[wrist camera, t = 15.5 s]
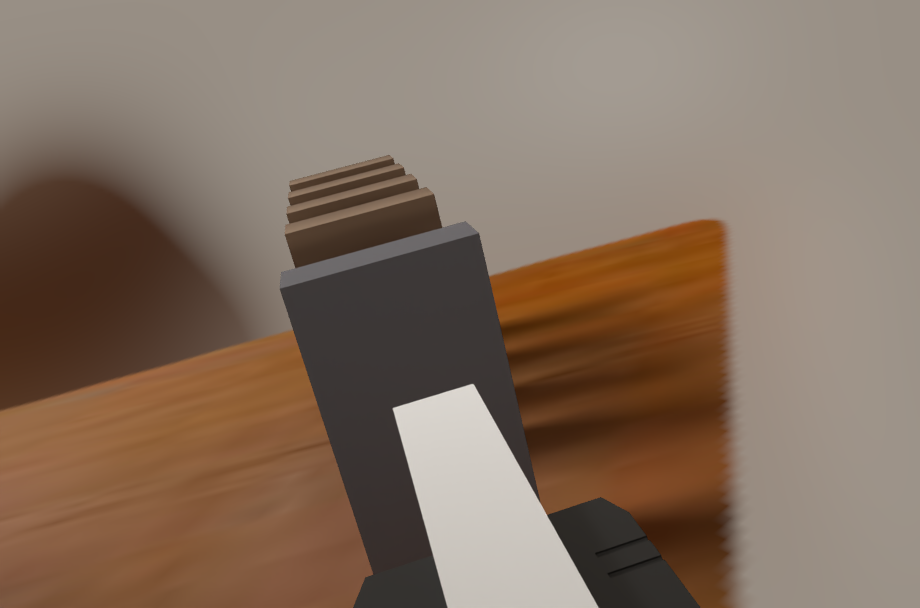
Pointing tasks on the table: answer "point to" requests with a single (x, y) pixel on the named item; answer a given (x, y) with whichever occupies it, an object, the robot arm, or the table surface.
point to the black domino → (399, 366)
